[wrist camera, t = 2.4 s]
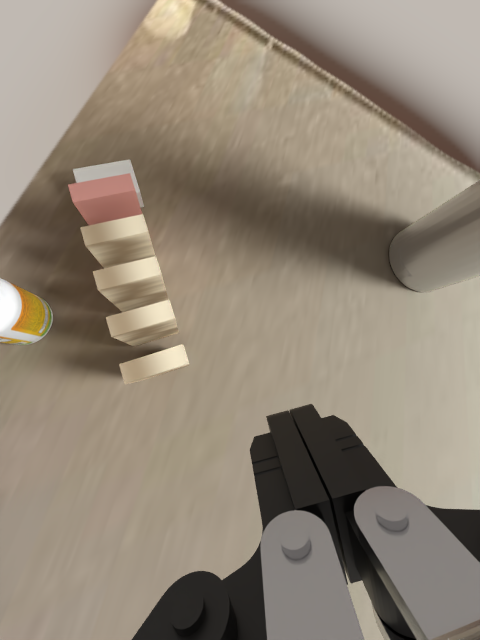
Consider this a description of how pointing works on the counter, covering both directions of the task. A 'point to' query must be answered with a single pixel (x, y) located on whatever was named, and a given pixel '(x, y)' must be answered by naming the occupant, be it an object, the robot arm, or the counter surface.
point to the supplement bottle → (22, 315)
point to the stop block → (108, 173)
